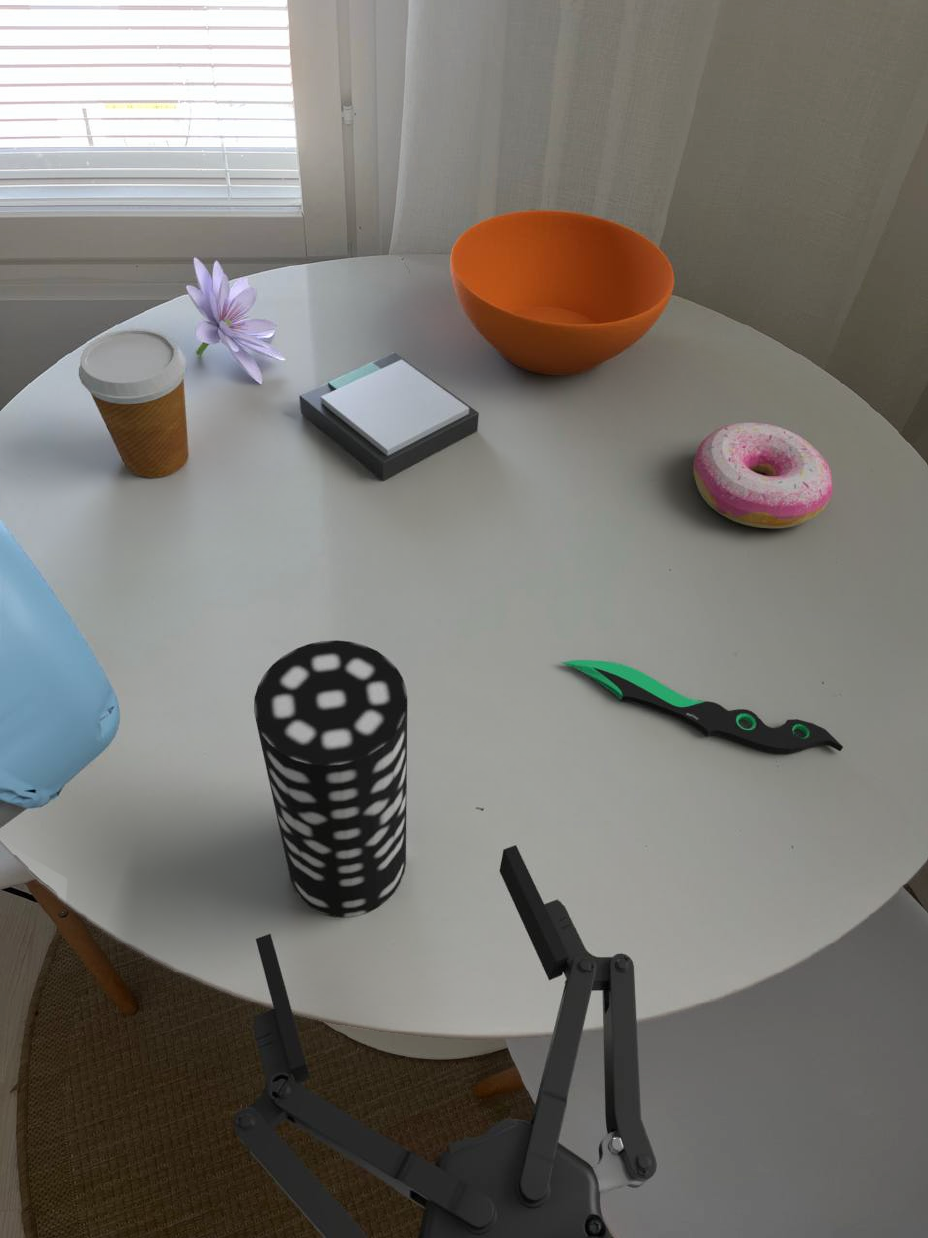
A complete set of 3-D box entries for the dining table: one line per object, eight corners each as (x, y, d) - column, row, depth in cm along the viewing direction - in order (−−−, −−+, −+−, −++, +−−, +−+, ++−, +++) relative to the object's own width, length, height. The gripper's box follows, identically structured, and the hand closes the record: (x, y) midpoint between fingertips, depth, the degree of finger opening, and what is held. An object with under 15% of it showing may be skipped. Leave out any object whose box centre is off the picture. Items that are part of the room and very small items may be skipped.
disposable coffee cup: (87, 462, 90) (51, 359, 81) (159, 416, 96) (133, 314, 87) (154, 503, 87) (125, 399, 78) (225, 452, 93) (206, 350, 83)
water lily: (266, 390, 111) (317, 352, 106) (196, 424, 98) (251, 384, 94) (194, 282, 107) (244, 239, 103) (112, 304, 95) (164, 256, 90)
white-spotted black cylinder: (294, 927, 62) (258, 777, 46) (284, 818, 67) (249, 650, 51) (414, 905, 63) (419, 752, 48) (396, 800, 68) (394, 632, 53)
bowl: (659, 302, 116) (677, 225, 108) (650, 421, 100) (671, 341, 92) (466, 274, 118) (471, 197, 110) (427, 386, 102) (429, 305, 94)
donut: (667, 458, 96) (679, 420, 92) (781, 443, 99) (796, 405, 95) (721, 547, 88) (736, 509, 84) (843, 528, 90) (863, 491, 86)
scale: (300, 413, 97) (298, 388, 95) (394, 370, 103) (394, 345, 101) (383, 481, 91) (382, 456, 89) (477, 430, 97) (479, 406, 95)
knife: (846, 736, 73) (833, 784, 70) (842, 741, 74) (829, 789, 71) (578, 627, 79) (556, 667, 76) (577, 633, 80) (555, 673, 77)
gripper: (269, 1540, 35) (168, 1011, 48) (795, 1250, 42) (587, 854, 55) (244, 1569, 30) (136, 960, 42) (856, 1228, 37) (609, 792, 49)
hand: (391, 899), depth 48 cm, fingers open, 13 cm apart
